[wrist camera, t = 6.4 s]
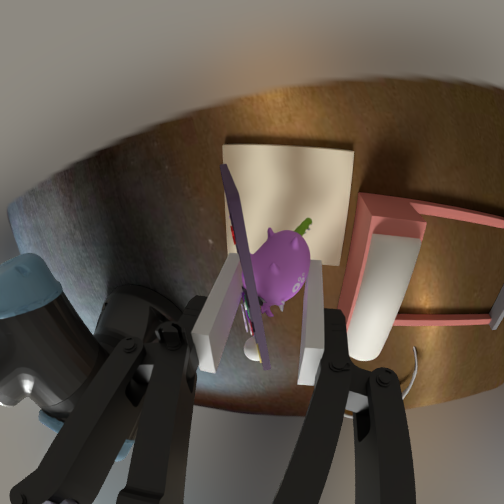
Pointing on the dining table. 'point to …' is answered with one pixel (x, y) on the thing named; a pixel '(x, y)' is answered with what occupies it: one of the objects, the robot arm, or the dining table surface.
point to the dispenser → (395, 270)
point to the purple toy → (265, 269)
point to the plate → (292, 194)
